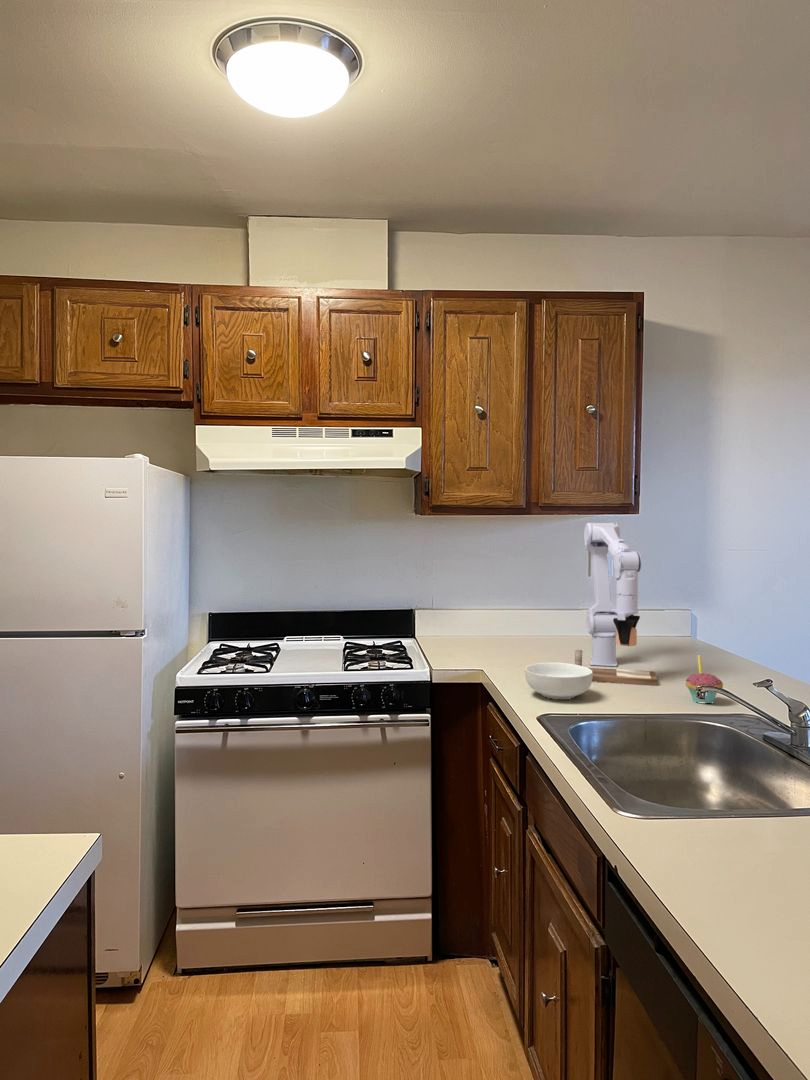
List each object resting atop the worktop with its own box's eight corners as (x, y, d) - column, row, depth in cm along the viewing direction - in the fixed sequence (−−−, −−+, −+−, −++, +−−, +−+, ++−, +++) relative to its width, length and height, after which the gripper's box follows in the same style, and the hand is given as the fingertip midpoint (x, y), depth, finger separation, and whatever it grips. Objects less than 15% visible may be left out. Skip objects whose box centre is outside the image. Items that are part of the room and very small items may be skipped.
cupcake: (677, 699, 180) (678, 651, 180) (704, 696, 183) (705, 649, 183) (703, 707, 172) (703, 658, 172) (730, 704, 175) (731, 655, 175)
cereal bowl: (543, 707, 173) (543, 678, 173) (514, 690, 189) (514, 664, 189) (605, 701, 178) (605, 673, 178) (571, 686, 194) (571, 660, 194)
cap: (619, 642, 205) (619, 626, 205) (637, 643, 202) (637, 627, 202) (615, 645, 200) (615, 628, 200) (634, 646, 198) (634, 630, 198)
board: (554, 671, 212) (554, 645, 212) (654, 676, 205) (654, 650, 205) (552, 679, 202) (552, 652, 202) (657, 685, 194) (657, 658, 194)
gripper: (618, 591, 209) (617, 637, 210) (606, 596, 196) (606, 645, 197) (643, 592, 206) (642, 639, 206) (633, 597, 193) (632, 647, 194)
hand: (626, 642), depth 201 cm, fingers closed on cap, 5 cm apart
